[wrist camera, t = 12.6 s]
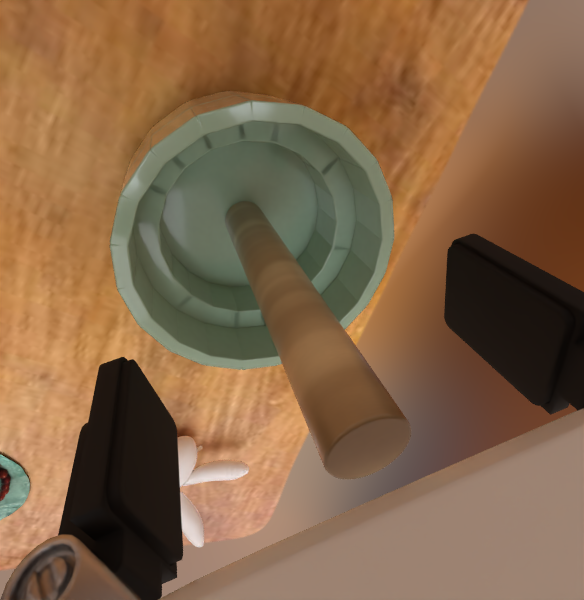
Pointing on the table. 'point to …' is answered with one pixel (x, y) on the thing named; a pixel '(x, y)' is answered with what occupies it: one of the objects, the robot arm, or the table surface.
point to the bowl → (215, 237)
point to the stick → (318, 355)
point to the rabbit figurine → (202, 473)
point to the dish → (12, 487)
